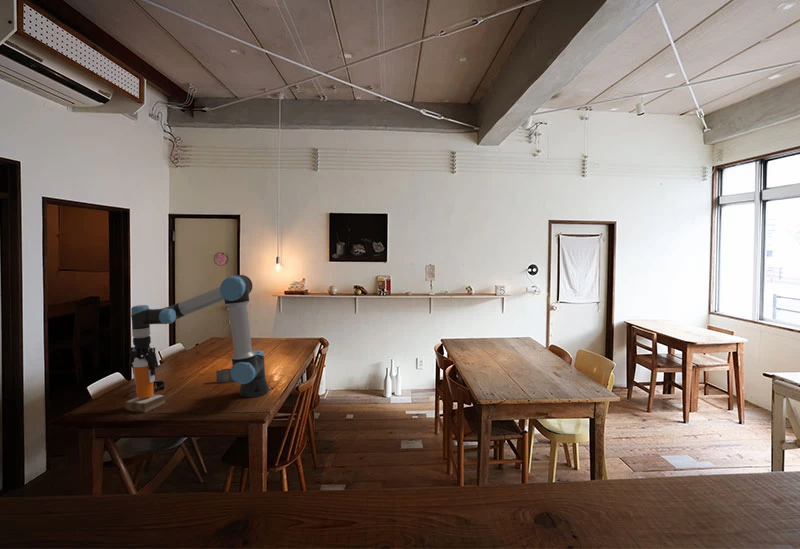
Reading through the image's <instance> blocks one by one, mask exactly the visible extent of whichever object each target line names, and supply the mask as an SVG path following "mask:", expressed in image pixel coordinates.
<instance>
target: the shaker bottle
mask: <svg viewBox="0 0 800 549" xmlns="http://www.w3.org/2000/svg"><path fill="white" fill-rule="evenodd" d="M133 367H134V374H133V376H134V375H135V381H134V383H135V387H136V388H135V390H136V398H137V397H138V398H145V397H149V396H152V395H153V394H154V391H155V390H154V389H155V386H154V385H153V382H149V373H148V369H149V366H148V362H147V361H146V359H145V357H143V355H142V356H141V357H140V356H138V357H136V358H135V359H134V362H133ZM154 395H155V394H154Z"/></svg>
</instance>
